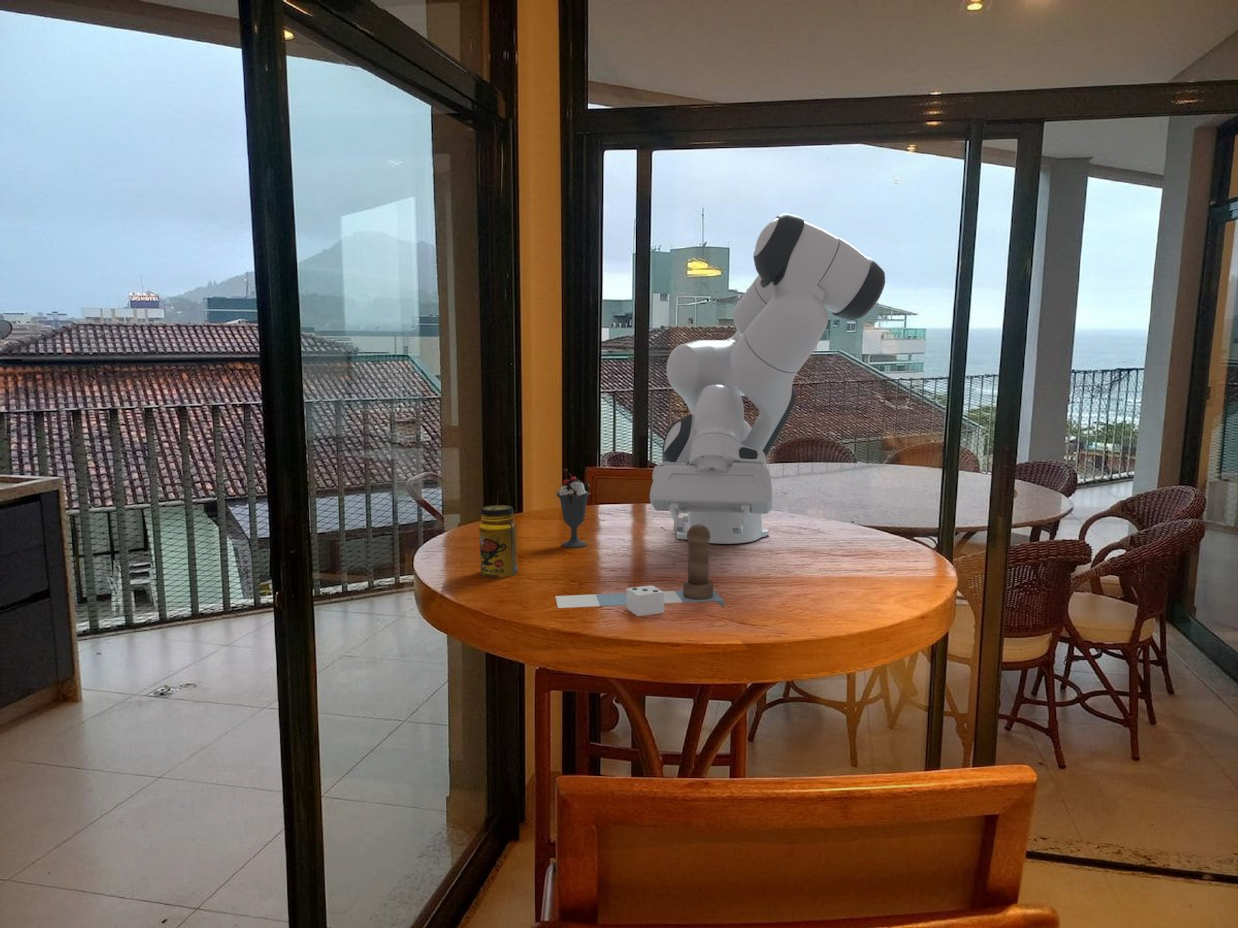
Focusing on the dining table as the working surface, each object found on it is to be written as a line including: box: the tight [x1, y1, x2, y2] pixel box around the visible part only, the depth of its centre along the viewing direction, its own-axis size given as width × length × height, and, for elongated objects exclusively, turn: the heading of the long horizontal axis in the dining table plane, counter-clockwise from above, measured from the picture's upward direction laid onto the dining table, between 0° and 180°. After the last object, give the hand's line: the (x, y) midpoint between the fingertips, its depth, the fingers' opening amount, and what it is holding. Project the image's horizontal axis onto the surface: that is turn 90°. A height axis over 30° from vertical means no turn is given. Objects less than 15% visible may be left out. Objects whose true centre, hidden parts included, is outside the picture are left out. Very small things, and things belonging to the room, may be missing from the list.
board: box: [555, 588, 724, 609], centre depth 126 cm, size 6×24×1 cm, turn 98°
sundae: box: [555, 468, 592, 549], centre depth 165 cm, size 7×7×15 cm
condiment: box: [478, 504, 519, 579], centre depth 142 cm, size 7×8×12 cm
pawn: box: [682, 524, 714, 600], centre depth 127 cm, size 4×4×11 cm
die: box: [625, 584, 665, 617], centre depth 120 cm, size 4×4×4 cm
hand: (707, 530), depth 138 cm, fingers open, 8 cm apart
